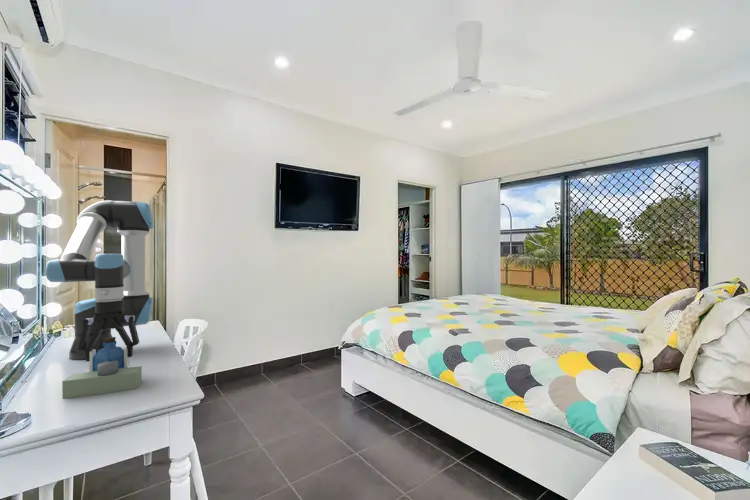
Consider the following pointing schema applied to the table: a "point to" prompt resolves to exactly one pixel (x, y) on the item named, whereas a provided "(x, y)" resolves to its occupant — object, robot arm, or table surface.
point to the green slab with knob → (102, 380)
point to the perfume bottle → (109, 354)
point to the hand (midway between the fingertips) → (110, 368)
